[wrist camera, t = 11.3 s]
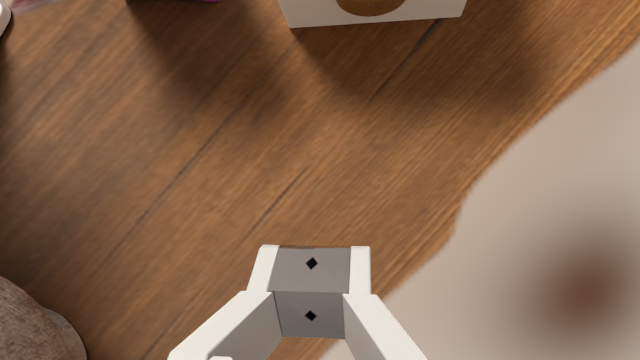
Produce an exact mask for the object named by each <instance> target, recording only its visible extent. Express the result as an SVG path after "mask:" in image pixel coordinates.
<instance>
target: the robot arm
mask: <svg viewBox="0 0 640 360" xmlns="http://www.w3.org/2000/svg"><path fill="white" fill-rule="evenodd" d="M10 17H11V11H10V9H9V7H8V6H7V5H6V3H5V2H4V1H3V0H0V36H1V35H2V33H3V31H4V30H5V28H6V26H7V24H8V22H9V20H10ZM282 337H318V338H332V339H345V341H346V343H347V345H348V346H349V348H350V350H351V352H352V354H353V356H354V358H355V360H428V359H427V358H426V357H425V356H424V354H423V353H422V352H421V350H420V349H419V348H418V347H417V345H416V344H415V343H414V342H413V340H412V339H411V338H410V337H409V335H408V334H407V333H406V331H405V330H404V329H403V328H402V326H401V325H400V324H399V323H398V321H397V320H396V319H395V317H394V316H393V315H392V314H391V312H390V311H389V310H388V308H387V307H386V306H385V305H384V303H383V302H382V301H381V300H380V298H379V297H378V296H377V295H371V257H370V247H369V246H295V245H262V246H261V248H260V249H259V252H258V255H257V258H256V262H255V265H254V268H253V271H252V274H251V277H250V281H249V284H248V287H247V290H246V291H240V292H239V293H238V294H237V295H236V296H234V297H233V298H232V299H231V300H230V301H229V302H228V303H226V304H225V305H224V306H223V307H222V308H221V309H219V310H218V311H217V312H216V313H215V314H214V315H213V316H211V317H210V318H209V319H208V320H207V321H206V322H205V323H203V324H202V325H201V326H200V327H199V328H198V329H196V330H195V331H194V332H193V333H192V334H191V335H190V336H188V337H187V338H186V339H185V340H184V341H183V342H181V343H180V344H179V345H178V346H177V347H176V348H175V349H173V350H172V351H171V352H170V354H169V356H168V359H167V360H266V359H267V358H268V357H269V355H270V354H271V353H272V352H273V350H274V349H275V348H276V346H277V345H278V344H279V343H280V341H281V340H282V339H283V338H282Z"/></svg>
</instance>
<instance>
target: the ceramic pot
mask: <svg viewBox="0 0 640 360" xmlns="http://www.w3.org/2000/svg"><path fill="white" fill-rule="evenodd" d="M67 320H68V319H65V318H64V317H62V315H60V314H58V313H56V312H54V311H52V310H50V309H47V308H44V307H41V306H40V305H39V304H38V303H37V302H36V301H35V300H34V299H33V298H32V297H31V296H29V295H28V294H27V293H26V292H25V291H24V290H22V289H21V288H20V287H18V286H16V285H15V284H13V283H12V282H10V281H9V280H7V279H5V278H3V277H2V276H0V360H87V356H86V351H85V347H84V345H83V342H82V340H81V339H80V337H79V334H78V333H77V332H76V331H75V330H74V328H73V327H72V325H71V324H70V323H69V322H68V321H67Z"/></svg>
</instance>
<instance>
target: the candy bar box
mask: <svg viewBox="0 0 640 360" xmlns="http://www.w3.org/2000/svg"><path fill="white" fill-rule="evenodd" d="M189 1H210V2H219V1H220V0H189Z"/></svg>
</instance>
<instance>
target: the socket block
mask: <svg viewBox="0 0 640 360" xmlns="http://www.w3.org/2000/svg"><path fill="white" fill-rule="evenodd" d="M277 1H278V3H279V5H280V8H281V10H282V13H283V15H284V17H285V20H286V22H287V24H288V27H289V28H300V27H315V26H330V25H345V24H360V23H375V22H390V21H405V20H421V19H436V18H451V17H461V14H462V12H463V9H464V7H465V4H466V1H467V0H405V2H404V3H403V4H402V5H401V6H400V7H399V8H397V9H396V10H394V11H392V12H389V13H387V14H383V15H379V16H372V17H364V16H357V15H353V14H350V13H348V12H346V11H344V10H343V9H341V8H340V7H339V5H338V4H337V2H336V0H277Z"/></svg>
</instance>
